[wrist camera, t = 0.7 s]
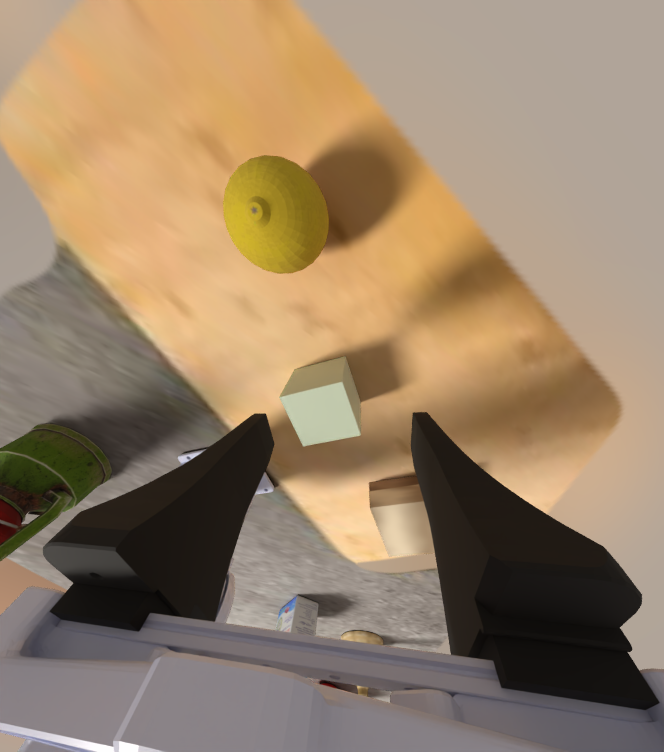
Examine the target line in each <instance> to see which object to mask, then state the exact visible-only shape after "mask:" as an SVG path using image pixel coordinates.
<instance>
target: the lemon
mask: <svg viewBox="0 0 664 752" xmlns="http://www.w3.org/2000/svg"><path fill="white" fill-rule="evenodd" d="M223 208H224V218H225V222H226V227H227V230H228V232H229V234H230V236H231V239H232V241H233V243H234V244H235V245H236V247H237V248H238V249H239V251H240V252H241V253H242V254H243V255H244V256H245V257H246V258H247V259H248V260H249V261H251V262H252V263H253V264H255V265H257V266H258V267H260V268H262V269H264V270H266V271H270V272H274V273H279V274H281V273H294V272H297V271H300V270H303V269H304V268H306V267H307V266H309V265H310V264H312V263H313V262H314V261H315V259H316V258H317V257H318V256H319V255H320V253H321V251H322V249H323V247H324V245H325V243H326V239H327V235H328V231H329V216H328V211H327V205H326V201H325V199H324V197H323V194H322V192H321V190H320V188H319V186H318V185H317V183H316V182H315V181H314V179H313V178H312V177H311V175H310V174H309V173H307V172H306V171H305V170H304V169H303V168H301V167H300V166H299V165H298V164H296V163H294V162H292V161H290V160H287V159H285V158H282V157H279V156H266V155H264V156H260V157H256V158H252V159H250V160H248V161H246V162H245V163H243V164H242V165H240V166H239V167H238V168H237V170H236V171H235V172H234V173H233V175H232V176H231V177H230V180H229V182H228V184H227V187H226V189H225V195H224V201H223Z"/></svg>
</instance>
